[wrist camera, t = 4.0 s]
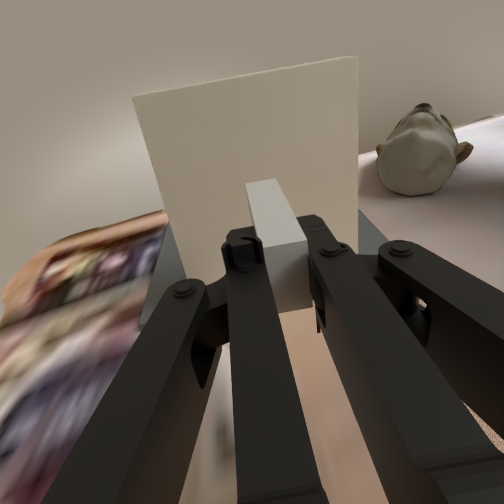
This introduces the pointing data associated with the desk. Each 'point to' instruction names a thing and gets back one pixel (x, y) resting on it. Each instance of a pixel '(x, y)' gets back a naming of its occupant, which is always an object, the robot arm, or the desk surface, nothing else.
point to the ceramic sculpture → (420, 153)
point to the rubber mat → (173, 271)
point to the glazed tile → (254, 152)
